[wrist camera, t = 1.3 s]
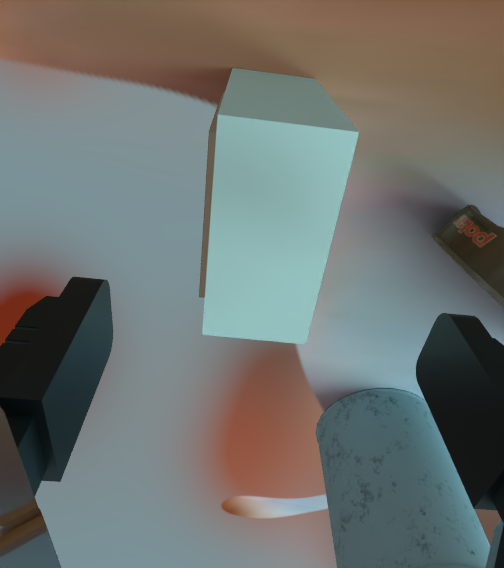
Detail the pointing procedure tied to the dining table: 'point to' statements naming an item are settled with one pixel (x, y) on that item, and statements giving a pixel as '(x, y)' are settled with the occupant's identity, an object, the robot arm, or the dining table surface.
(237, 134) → the carton
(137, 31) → the dining table surface
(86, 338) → the robot arm
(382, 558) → the grey stone cylinder
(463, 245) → the tin
